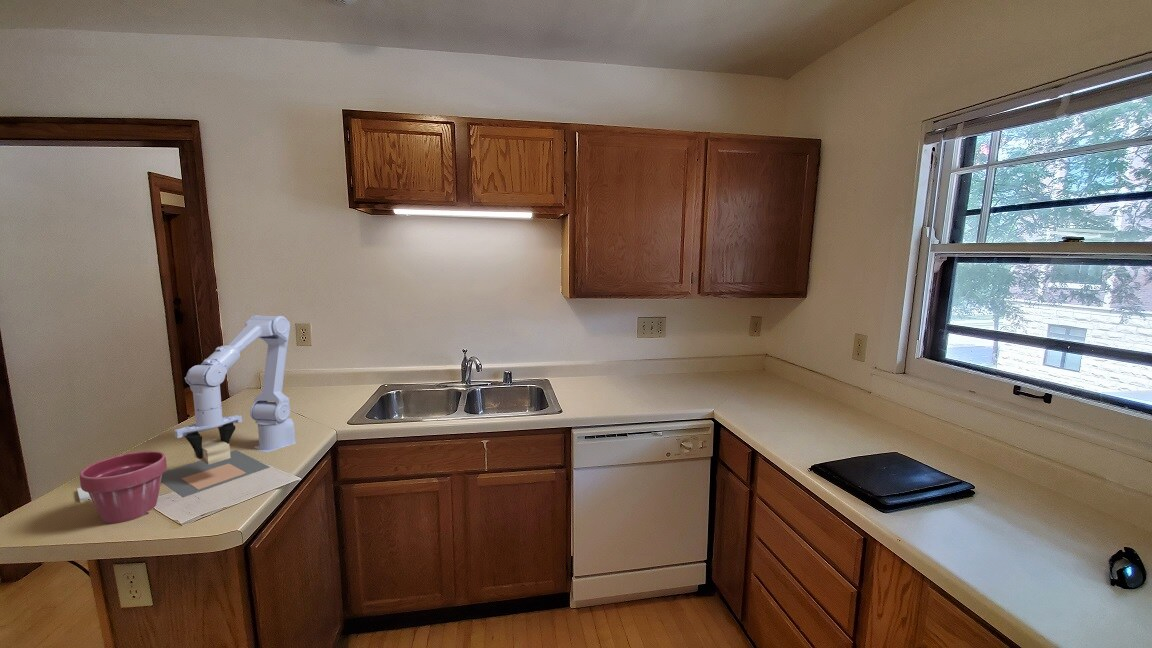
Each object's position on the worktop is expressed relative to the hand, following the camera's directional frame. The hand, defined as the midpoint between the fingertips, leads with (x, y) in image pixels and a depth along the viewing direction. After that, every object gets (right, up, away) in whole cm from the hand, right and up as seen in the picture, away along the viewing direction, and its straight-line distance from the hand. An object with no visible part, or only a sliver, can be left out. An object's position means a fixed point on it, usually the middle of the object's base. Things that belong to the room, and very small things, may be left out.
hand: (212, 454), depth 119 cm
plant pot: (-6, -9, -17) cm, 20 cm away
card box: (0, -1, 0) cm, 1 cm away
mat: (-3, -7, +4) cm, 8 cm away
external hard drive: (-22, -8, -5) cm, 24 cm away
